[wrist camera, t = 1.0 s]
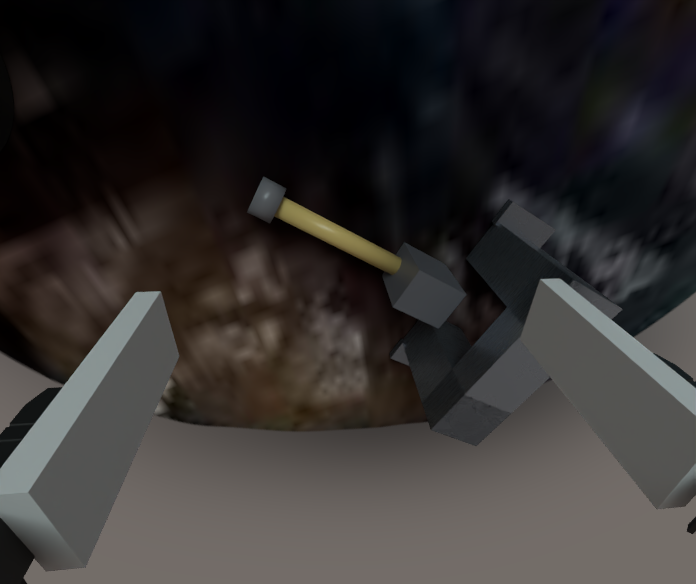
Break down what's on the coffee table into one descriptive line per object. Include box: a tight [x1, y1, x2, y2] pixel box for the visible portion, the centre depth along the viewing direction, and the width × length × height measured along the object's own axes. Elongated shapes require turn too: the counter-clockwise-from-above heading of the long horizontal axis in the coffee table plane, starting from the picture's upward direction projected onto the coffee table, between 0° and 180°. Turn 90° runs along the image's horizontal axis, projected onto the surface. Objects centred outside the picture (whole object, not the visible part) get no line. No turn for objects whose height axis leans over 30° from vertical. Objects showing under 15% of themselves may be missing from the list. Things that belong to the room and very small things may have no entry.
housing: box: [390, 200, 622, 446], centre depth 33 cm, size 6×20×12 cm, turn 150°
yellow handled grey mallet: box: [248, 177, 467, 329], centre depth 31 cm, size 19×4×6 cm, turn 60°
